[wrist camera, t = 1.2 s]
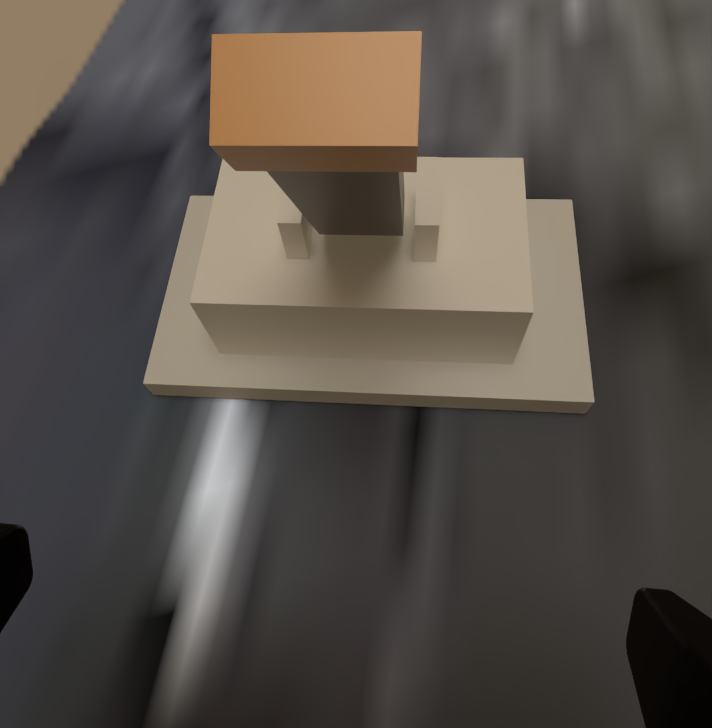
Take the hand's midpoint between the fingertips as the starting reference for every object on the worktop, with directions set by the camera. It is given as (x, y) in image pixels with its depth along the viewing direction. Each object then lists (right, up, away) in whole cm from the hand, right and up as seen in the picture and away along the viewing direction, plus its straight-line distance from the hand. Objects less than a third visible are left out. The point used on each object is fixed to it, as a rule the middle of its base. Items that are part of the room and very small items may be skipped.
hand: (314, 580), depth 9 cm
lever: (+1, +8, +13) cm, 15 cm away
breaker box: (+1, +6, +18) cm, 19 cm away
